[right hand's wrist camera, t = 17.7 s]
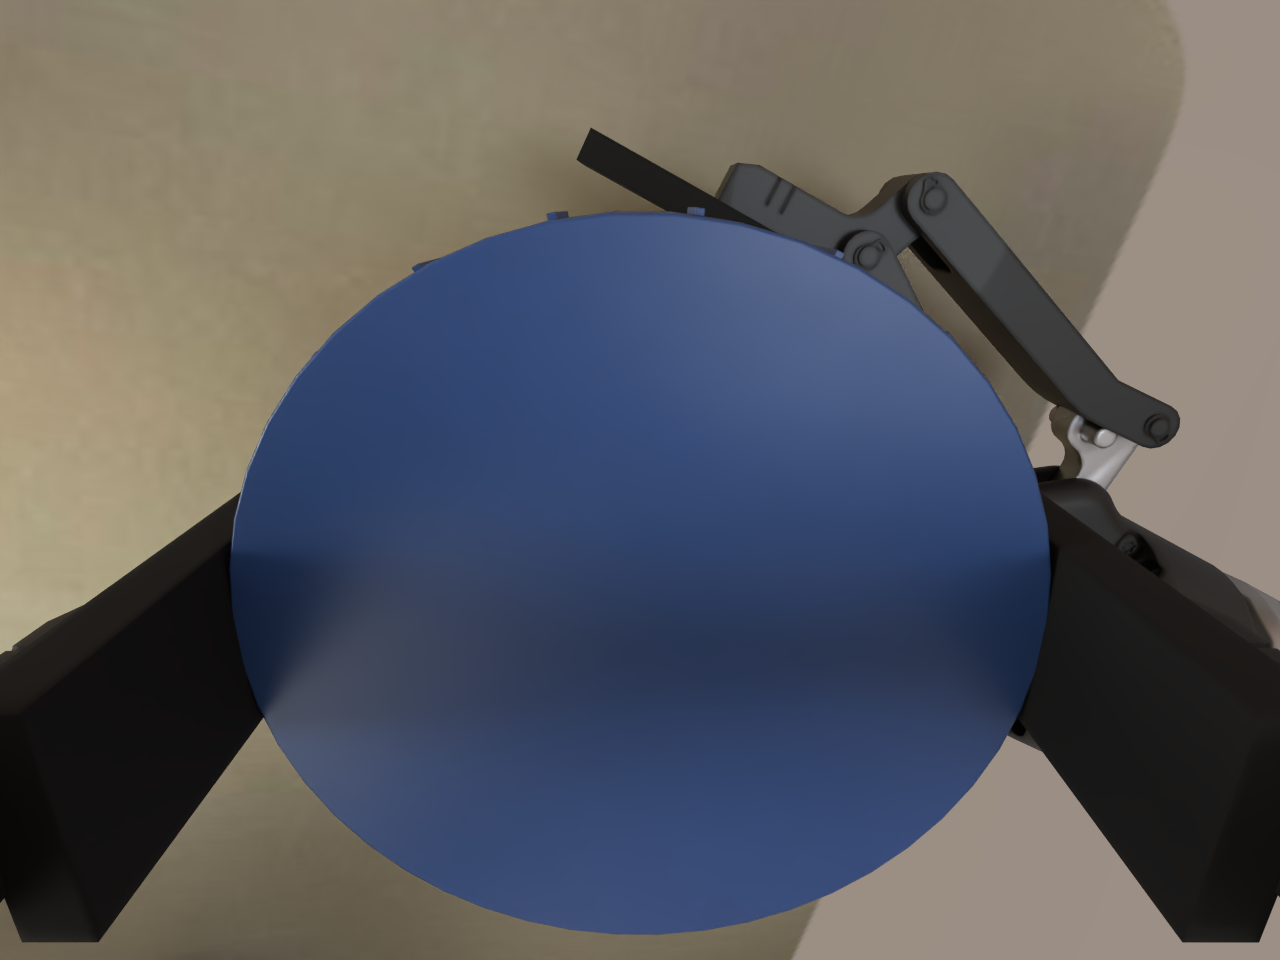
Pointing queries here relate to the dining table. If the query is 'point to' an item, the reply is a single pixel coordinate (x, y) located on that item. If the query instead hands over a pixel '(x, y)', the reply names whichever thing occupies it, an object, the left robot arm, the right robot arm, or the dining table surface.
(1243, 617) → the left robot arm
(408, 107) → the dining table surface
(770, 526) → the lid
